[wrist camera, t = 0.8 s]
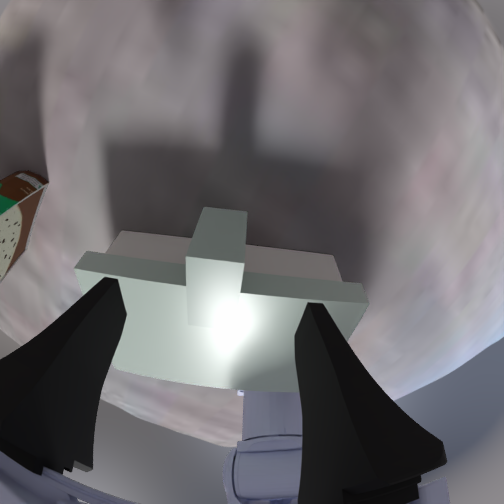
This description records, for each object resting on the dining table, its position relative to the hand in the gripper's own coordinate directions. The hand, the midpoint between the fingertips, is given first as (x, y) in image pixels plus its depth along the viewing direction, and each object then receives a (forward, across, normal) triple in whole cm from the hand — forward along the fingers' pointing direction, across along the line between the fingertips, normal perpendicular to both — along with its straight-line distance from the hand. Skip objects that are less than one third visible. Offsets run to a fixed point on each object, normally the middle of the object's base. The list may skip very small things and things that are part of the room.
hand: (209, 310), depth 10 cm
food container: (+10, +20, +1) cm, 22 cm away
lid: (+5, 0, +6) cm, 8 cm away
